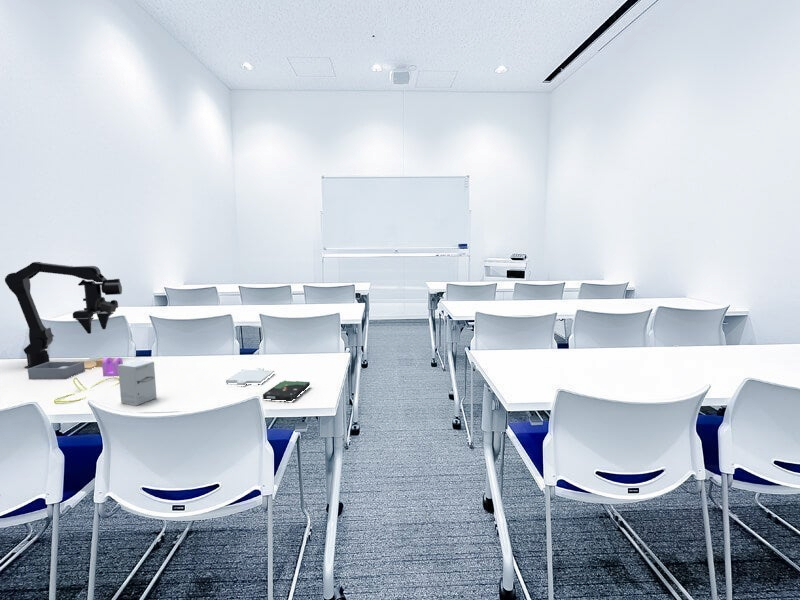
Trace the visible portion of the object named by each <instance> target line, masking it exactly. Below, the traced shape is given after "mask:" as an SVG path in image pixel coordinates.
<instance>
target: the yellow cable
mask: <svg viewBox="0 0 800 600" xmlns="http://www.w3.org/2000/svg"><path fill="white" fill-rule="evenodd" d="M112 379H113V380H114V379H115V380H119V377H114V376H113V377H108V378H105V379H103V380H100V381H98V382H96V383H95V384H93V385H95V386H96V384H97V385H99V384H100V383H103V382H104V381H107V380H112ZM75 380H77V382H78V384H79V385H80V386H81V387H83V388H84V389H85V390H86V389H88V388H87V387H85V386H84V385H83V384H82V382H81V381H80V380H79V379H78V377H74V378H73V380H72V381H73V384H74V385H75V387H76V388H77V389H78V390H79V391H80V392H81V391H83V390H82V389H81V388H80V387H79V386H78V385H77V383H76V381H75ZM114 385H115V386H117V385H120V382H119V381H118V383H116V384H114ZM114 385H112V387H114ZM75 393H76V392H75ZM75 393H74V392H73V393H71V394H66V395H63V396H60V397H57V398H55V399H54V400H53V401H54V402H55V403H72V402H74V403H75V402H77V401H81V399H82V400H84V399H87V398H86V397H87V396H85V397H82V398H79V399H75V400H60V399H62V398H65V397H66V398H67V397H69V395H70V396H73V395H75ZM72 394H73V395H72ZM83 398H84V399H83Z"/></svg>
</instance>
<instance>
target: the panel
mask: <svg viewBox="0 0 800 600" xmlns="http://www.w3.org/2000/svg"><path fill="white" fill-rule="evenodd" d="M83 371H85V372H86V369H85V366H84V362H73V361H49V362H47V363H44V364H41V365H38V366H35V367H32V368H27V376H28V380H67V378H68V379H70V378H72V377H75V376H77V375H79V374H78V373H80V374H82V373H84V372H83ZM81 372H82V373H81ZM76 374H77V375H76ZM74 375H75V376H74ZM71 376H72V377H71ZM69 377H70V378H69Z"/></svg>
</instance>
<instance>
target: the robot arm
mask: <svg viewBox="0 0 800 600" xmlns="http://www.w3.org/2000/svg"><path fill="white" fill-rule="evenodd" d="M39 273H47V274H57V275H64V276H65V275H66V276H73V277H76V278H79V279H82V280H80V281H79V283H78V284H77V286H83V287H84V289H83V290H84V298H82V302H85V306H86V307H84V308H83V309H82V310H76V311H75V310H74V312H73V313H72V319H75V321H77V322H78V323H79V324H80V325H81V326H82V328H83V329H84V331H85V332H86V333H87V334H88V335H89V334H90V335H91V334H92V321H93V320H94V315H96V316H97V319H98V321H99V324H100V327H101V329H102V330H106V329H107V325H108V321H109V318H110V316H112V315H113V314H114V312H116V311H117V308H119V303H118V300H116V299H113V300H110V301H109V300H108V301H107V300H106V298H105V297H104V296H102V293H103V294H105V296H113V295H114V296H115V295H117V296H118V295H122V294H123V293H122V292H123V288H122V287H123V286H122V283H121V279H120V278H113V279H107V278H106V277H105V276H104V275H103V274H102V273H101V269H100V268H99V267H98V266H95V265H81V266H80V265H79V266H77V265H76V266H74V265H63V264H56V263H55V264H54V263H48V262H41V261H34V262H31V263H30V264H28V265H27V266H25V267H23V268H22V269H19V270H18V271H16V272H11V273H9V274H8V273H7V275H6V276H5V277H4V282H5V285H7V287H8V289H9V290H10V291H11V292H12V294H14V295H15V297H16V299H17V301H18V304H19V306H20V309H21V311H22V314H23V317H24V320H25V321H26V324H27V326H28V339H29V344H28V345H27V346H25V348H23V352H24V353H25V355H26V361H27V362H26V363H27V365H26V366H24V369H29V368H32V367H35V366H38V365H41V364H44V363H47V362H50V356H49V352H48V349H49V348H48V347H49V346H50V345H51V344H52V342H53V341H54V337H55V336H54V334H53V332H52V329H51V327H48V328H46V326H45V325H44V324H43V322H42V320H41V317H40V315H39V312H38V310H37V307H36V305H35V302H34V299H33V296H32V294H31V279H33V278H34V277H35V276H36V275H38V274H39Z"/></svg>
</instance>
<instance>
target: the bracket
mask: <svg viewBox="0 0 800 600" xmlns="http://www.w3.org/2000/svg"><path fill="white" fill-rule="evenodd" d="M103 358H104V359H103V361H102V367H101V368H102V377H114V376H117V377H119V370H118V365H121V364H124V361H123V358H121V357H115V358H114V360H113V361H112V359H111V358H112V357H103Z"/></svg>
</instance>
